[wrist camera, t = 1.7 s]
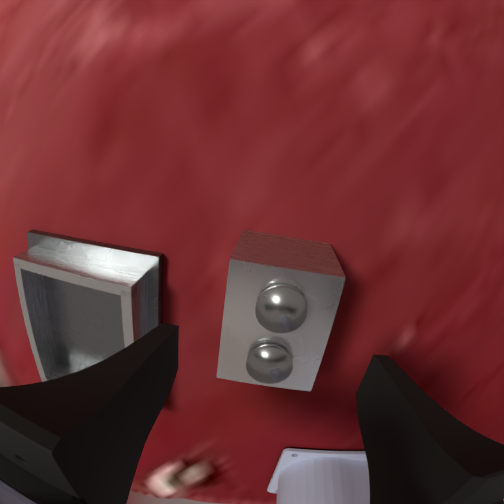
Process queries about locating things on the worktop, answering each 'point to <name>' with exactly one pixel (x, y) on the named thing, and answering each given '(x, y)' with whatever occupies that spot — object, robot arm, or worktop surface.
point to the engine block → (278, 310)
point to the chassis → (85, 299)
